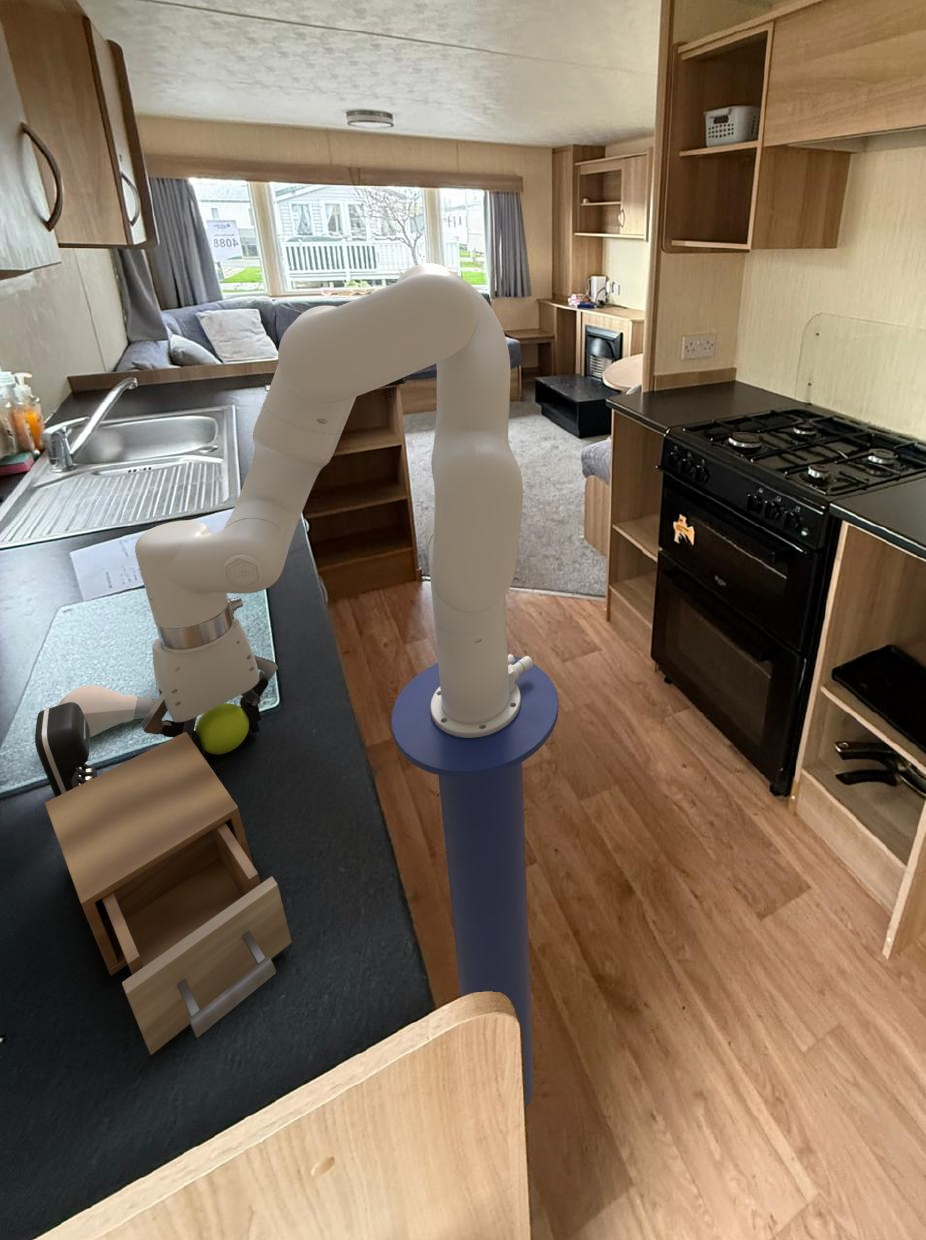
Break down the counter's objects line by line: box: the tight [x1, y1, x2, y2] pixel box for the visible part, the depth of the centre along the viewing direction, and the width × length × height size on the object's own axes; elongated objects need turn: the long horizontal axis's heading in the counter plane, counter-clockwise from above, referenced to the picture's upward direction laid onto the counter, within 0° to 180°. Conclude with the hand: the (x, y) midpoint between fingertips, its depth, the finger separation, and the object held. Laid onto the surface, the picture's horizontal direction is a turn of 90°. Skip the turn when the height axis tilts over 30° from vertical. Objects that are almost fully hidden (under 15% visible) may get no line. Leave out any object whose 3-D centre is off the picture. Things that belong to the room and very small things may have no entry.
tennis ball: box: [194, 702, 250, 755], centre depth 80 cm, size 6×6×6 cm
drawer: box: [102, 822, 292, 1056], centre depth 55 cm, size 18×11×8 cm, turn 48°
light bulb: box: [57, 684, 157, 738], centre depth 83 cm, size 7×7×11 cm
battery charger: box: [34, 702, 98, 798], centre depth 72 cm, size 7×4×11 cm, turn 36°
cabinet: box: [44, 732, 254, 977], centre depth 63 cm, size 15×13×10 cm
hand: (225, 740), depth 80 cm, fingers closed on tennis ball, 5 cm apart
